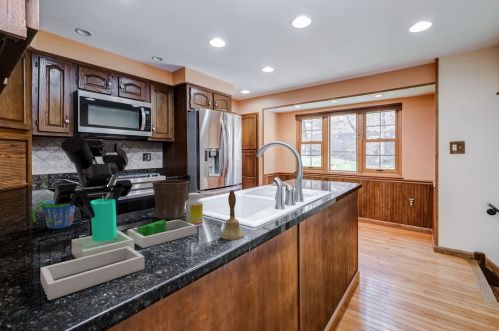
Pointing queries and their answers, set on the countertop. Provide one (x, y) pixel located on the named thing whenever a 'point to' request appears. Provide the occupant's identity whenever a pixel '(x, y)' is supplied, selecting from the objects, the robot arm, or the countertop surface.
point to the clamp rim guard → (164, 233)
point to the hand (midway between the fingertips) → (105, 214)
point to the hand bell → (232, 222)
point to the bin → (99, 245)
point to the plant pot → (170, 198)
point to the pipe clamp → (153, 228)
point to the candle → (103, 220)
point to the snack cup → (56, 214)
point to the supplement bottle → (194, 209)
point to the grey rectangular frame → (91, 277)
